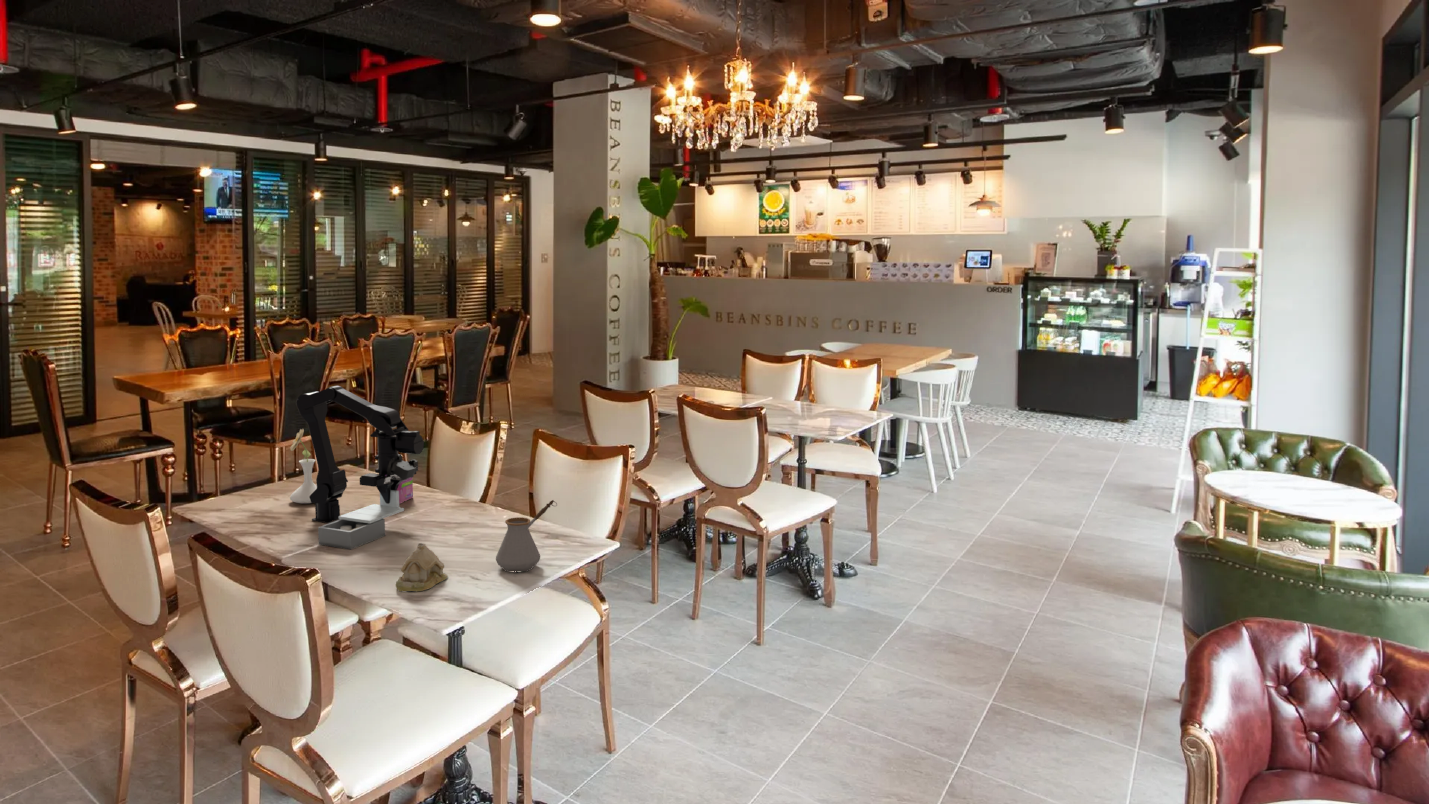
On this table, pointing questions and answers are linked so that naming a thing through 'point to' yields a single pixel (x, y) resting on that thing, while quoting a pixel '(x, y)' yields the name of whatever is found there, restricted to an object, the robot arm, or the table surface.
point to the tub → (350, 533)
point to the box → (405, 490)
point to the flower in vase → (308, 486)
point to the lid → (375, 510)
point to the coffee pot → (519, 544)
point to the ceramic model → (421, 570)
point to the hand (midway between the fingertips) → (389, 502)
